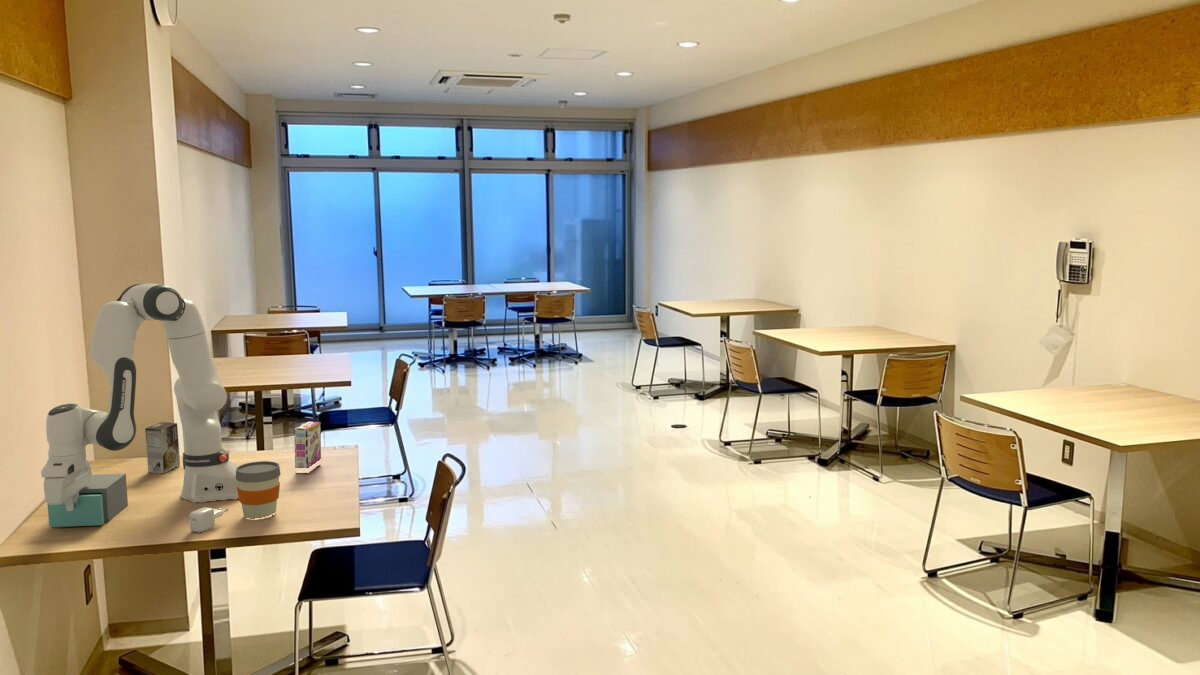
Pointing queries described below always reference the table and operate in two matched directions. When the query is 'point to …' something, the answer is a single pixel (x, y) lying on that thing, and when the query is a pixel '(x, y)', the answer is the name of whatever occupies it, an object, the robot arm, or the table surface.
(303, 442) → the candy bar box
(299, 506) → the table surface
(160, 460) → the coffee box
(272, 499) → the reusable coffee cup
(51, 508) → the teal drawer
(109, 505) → the gray drawer box
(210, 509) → the power adapter
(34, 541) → the table surface
